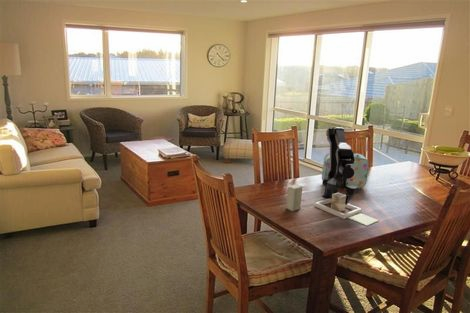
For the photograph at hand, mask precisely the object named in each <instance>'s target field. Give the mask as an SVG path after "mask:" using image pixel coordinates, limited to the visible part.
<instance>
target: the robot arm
mask: <svg viewBox="0 0 470 313" xmlns="http://www.w3.org/2000/svg"><path fill="white" fill-rule="evenodd" d="M325 134H326V138H327V142H328V143H329V153H330V167H329V171H328V173H327V174H326V178H325V179H324V180H322V185H323V186H324V188H325V189H324V195H322V197H323V198H326V199H329V198H330V199H332V194H335V193H339V189H343V190H345V193H344V195H346V201H345V205H347V204H349V203H350V201H351V199H352V198H353V197H354V195H357V194H360V189H361V188H359V187H356V186H353V185H352V186H346V185H348V182H347V179H349V178H352V177H353V175H354V170H353V169H352V168H351V164H354V161H355V159H354V154H355V153H354V151H353V150H352V149H353V148H352V147H351V145H349V144H348V142H347V139H346V136H345V128H344V127H341V126H340V127H338V126H337V127H336V126H335V127H328V128H327V130H326V133H325ZM350 159H351V160H350Z"/></svg>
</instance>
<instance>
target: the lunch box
mask: <svg viewBox="0 0 470 313" xmlns="http://www.w3.org/2000/svg"><path fill="white" fill-rule="evenodd" d="M354 159H355V161H354V164H351V168H352V169H353V170H354V175H353V177H352V178H349V179H347V182H348V185H346V186H352V185H353V186H356V187H359V189H363V188H364V187H365V186H366V184H367V180H368V173H369V167H370V162H369V160H368V159H367V158H366V157H365V156H364V155H363V154H361V153H357V152H356V153H354ZM350 160H351V159H350ZM329 167H330V152H329V153H326V154H325V156H324V159H323V164H322V171H321V180H322V181H323V180H324V179H325V178H326V174H327V173H328V171H329Z"/></svg>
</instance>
